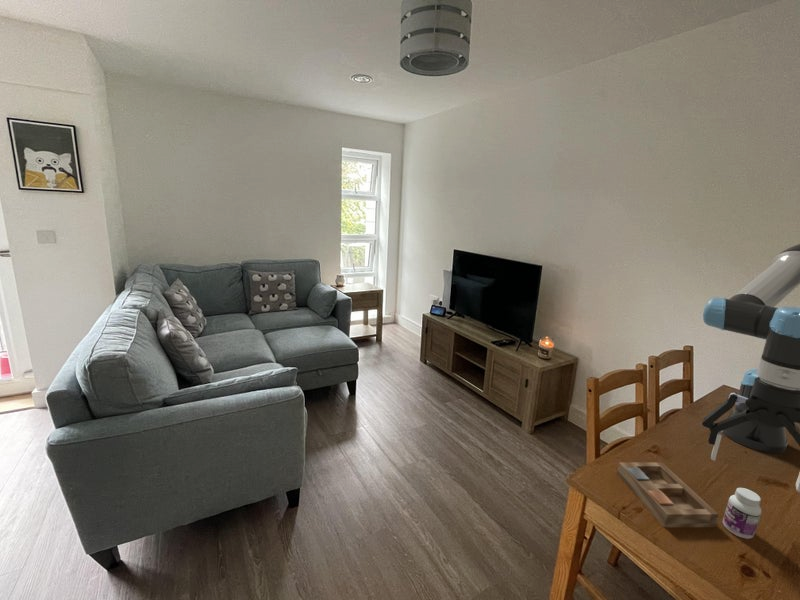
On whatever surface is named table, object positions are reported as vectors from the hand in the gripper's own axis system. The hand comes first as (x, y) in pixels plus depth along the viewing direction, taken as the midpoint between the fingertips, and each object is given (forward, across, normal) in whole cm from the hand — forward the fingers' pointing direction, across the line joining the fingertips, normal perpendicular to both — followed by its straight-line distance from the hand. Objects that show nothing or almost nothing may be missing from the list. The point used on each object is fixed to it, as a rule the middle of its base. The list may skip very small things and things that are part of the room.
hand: (753, 472), depth 79 cm
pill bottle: (+15, 0, 0) cm, 15 cm away
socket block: (+15, -14, -1) cm, 20 cm away
